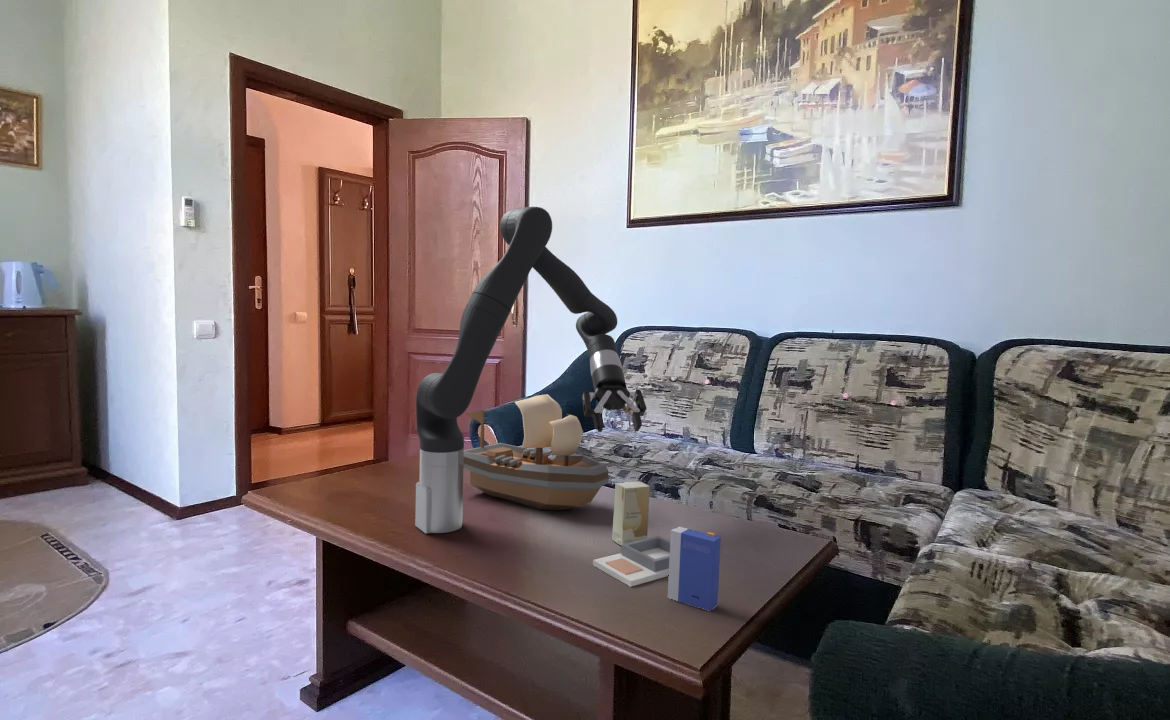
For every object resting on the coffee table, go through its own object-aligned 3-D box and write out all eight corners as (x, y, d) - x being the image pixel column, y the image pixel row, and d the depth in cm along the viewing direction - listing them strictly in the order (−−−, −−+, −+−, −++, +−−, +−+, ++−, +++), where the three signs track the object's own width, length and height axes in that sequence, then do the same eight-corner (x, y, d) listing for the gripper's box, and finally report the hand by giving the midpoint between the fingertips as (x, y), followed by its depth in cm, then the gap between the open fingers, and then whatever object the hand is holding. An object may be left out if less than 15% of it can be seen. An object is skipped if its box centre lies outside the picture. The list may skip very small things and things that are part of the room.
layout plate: (630, 586, 109) (631, 569, 109) (592, 565, 118) (593, 549, 118) (695, 567, 118) (696, 552, 118) (656, 549, 127) (657, 534, 127)
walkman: (717, 606, 103) (721, 534, 102) (710, 612, 101) (713, 539, 100) (674, 592, 107) (677, 523, 107) (666, 598, 105) (670, 528, 104)
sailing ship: (579, 527, 139) (583, 405, 137) (440, 489, 165) (442, 386, 163) (618, 510, 153) (623, 399, 151) (484, 477, 178) (487, 382, 177)
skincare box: (622, 547, 128) (624, 488, 127) (611, 540, 131) (613, 482, 131) (648, 543, 131) (651, 485, 130) (637, 536, 134) (639, 480, 134)
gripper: (580, 363, 146) (591, 420, 135) (639, 363, 149) (654, 419, 139) (575, 383, 151) (585, 440, 141) (632, 382, 154) (645, 438, 144)
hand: (619, 429), depth 140 cm, fingers open, 8 cm apart
